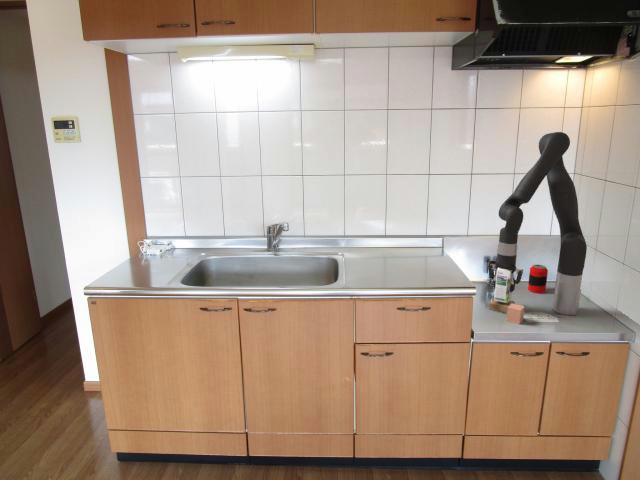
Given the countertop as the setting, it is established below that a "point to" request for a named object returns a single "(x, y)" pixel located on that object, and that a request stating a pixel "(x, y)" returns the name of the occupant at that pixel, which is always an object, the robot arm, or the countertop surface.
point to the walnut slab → (500, 306)
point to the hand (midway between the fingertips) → (503, 289)
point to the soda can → (537, 279)
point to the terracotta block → (515, 313)
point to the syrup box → (503, 285)
